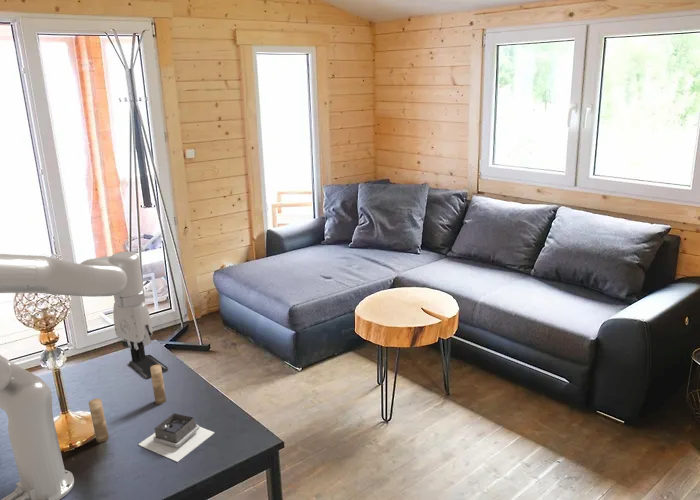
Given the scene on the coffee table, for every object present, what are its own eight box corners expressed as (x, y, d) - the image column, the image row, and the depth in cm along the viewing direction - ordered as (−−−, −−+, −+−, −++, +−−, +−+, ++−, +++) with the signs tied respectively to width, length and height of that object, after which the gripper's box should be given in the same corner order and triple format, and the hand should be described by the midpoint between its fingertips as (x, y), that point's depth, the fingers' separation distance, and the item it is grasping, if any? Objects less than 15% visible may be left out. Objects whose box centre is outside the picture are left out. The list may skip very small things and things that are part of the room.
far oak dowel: (160, 405, 174) (155, 370, 170) (153, 402, 175) (147, 368, 172) (168, 400, 176) (163, 366, 173) (161, 397, 178) (156, 363, 174)
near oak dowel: (101, 443, 157) (93, 406, 153) (93, 440, 158) (86, 403, 154) (111, 437, 159) (103, 400, 156) (103, 434, 161) (96, 397, 157)
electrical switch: (151, 440, 157) (178, 452, 153) (150, 425, 155) (176, 437, 151) (175, 421, 165) (200, 432, 161) (174, 407, 163) (200, 417, 159)
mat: (177, 462, 149) (177, 461, 149) (138, 444, 156) (138, 444, 156) (214, 432, 160) (214, 432, 160) (176, 418, 167) (176, 417, 167)
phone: (149, 354, 204) (169, 368, 194) (149, 356, 204) (169, 371, 194) (127, 362, 199) (147, 377, 188) (128, 364, 199) (147, 380, 189)
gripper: (99, 298, 151) (109, 359, 157) (137, 308, 144) (146, 373, 149) (122, 288, 157) (131, 348, 163) (160, 298, 150) (168, 360, 155)
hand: (139, 360), depth 156 cm, fingers closed
